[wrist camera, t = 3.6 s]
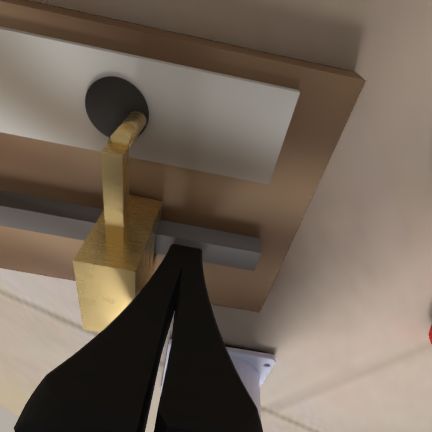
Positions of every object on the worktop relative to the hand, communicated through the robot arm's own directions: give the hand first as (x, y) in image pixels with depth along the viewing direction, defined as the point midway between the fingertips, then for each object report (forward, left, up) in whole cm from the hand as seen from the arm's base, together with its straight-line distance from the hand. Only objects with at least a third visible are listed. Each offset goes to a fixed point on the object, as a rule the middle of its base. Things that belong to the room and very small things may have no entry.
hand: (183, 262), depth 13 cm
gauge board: (+1, +7, -3) cm, 8 cm away
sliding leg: (+2, +2, -2) cm, 3 cm away
